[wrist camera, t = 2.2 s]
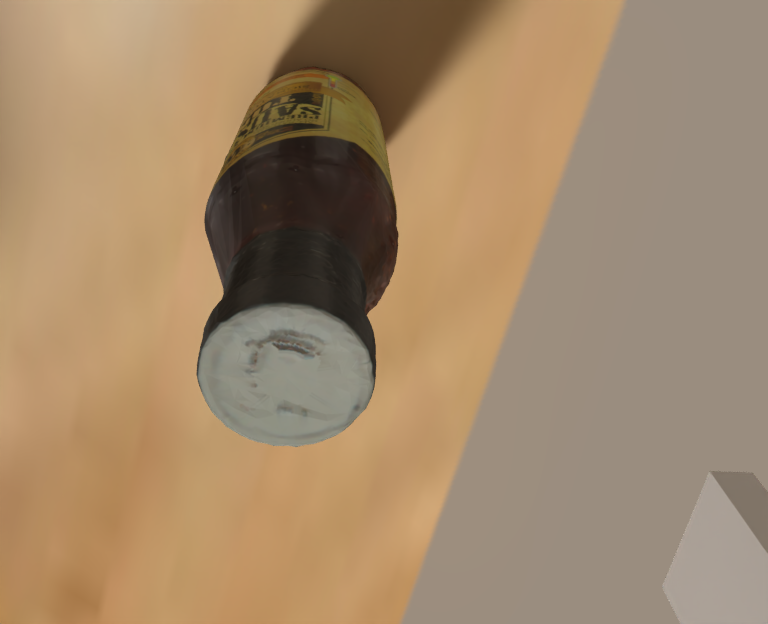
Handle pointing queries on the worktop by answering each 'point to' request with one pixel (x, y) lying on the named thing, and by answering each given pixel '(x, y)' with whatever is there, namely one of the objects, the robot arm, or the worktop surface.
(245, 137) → the sauce bottle
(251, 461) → the worktop surface
